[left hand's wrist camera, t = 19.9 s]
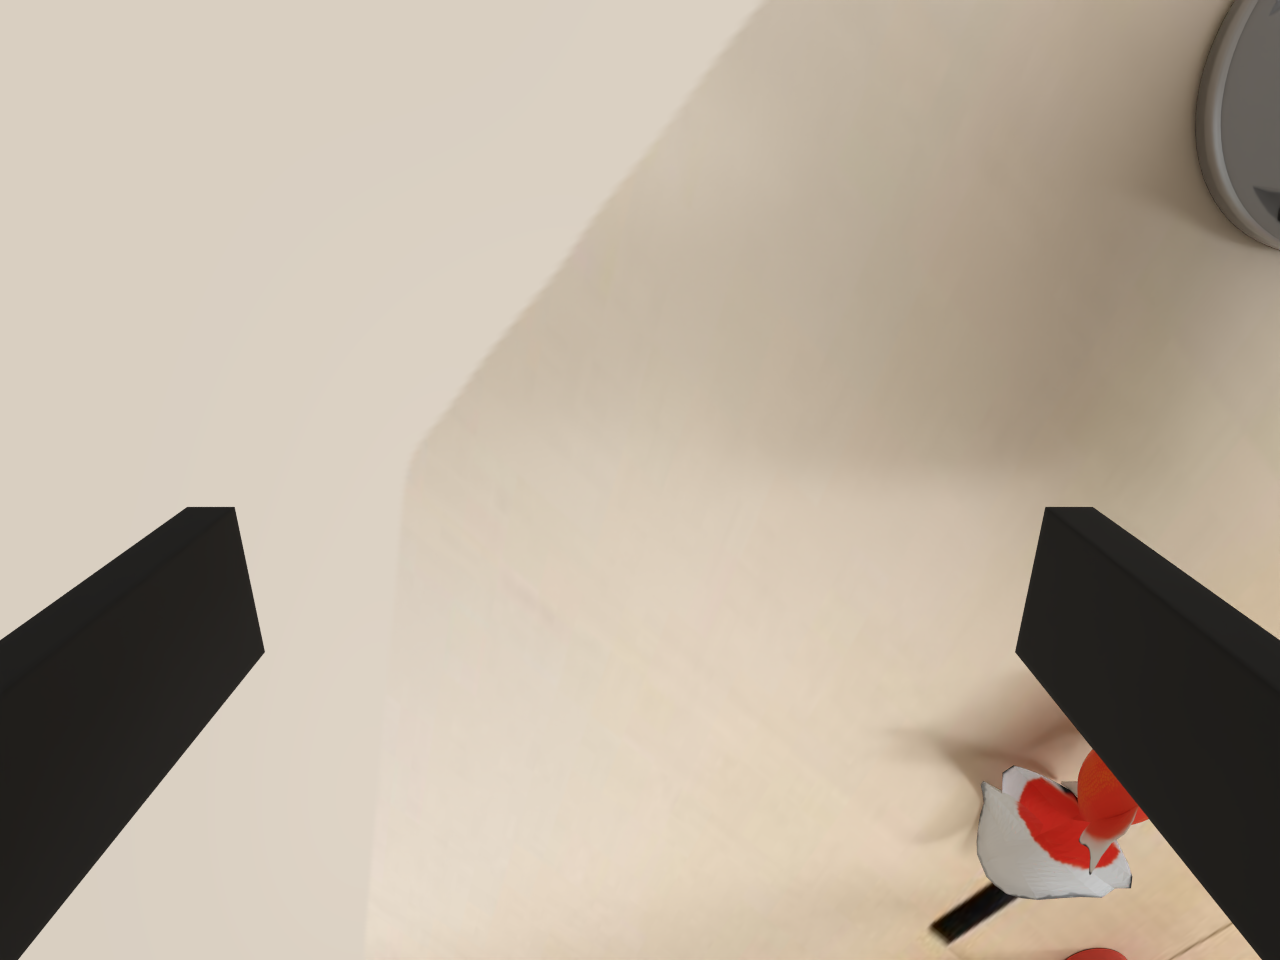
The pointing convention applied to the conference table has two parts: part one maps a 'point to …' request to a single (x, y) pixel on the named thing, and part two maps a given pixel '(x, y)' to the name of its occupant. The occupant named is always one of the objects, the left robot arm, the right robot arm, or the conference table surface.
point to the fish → (1056, 833)
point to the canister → (1097, 955)
